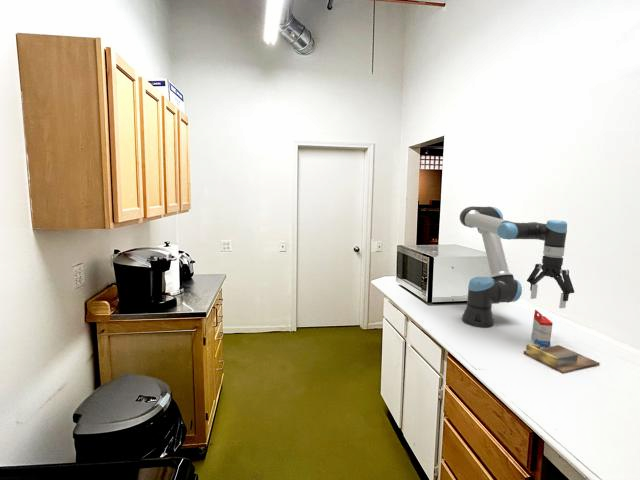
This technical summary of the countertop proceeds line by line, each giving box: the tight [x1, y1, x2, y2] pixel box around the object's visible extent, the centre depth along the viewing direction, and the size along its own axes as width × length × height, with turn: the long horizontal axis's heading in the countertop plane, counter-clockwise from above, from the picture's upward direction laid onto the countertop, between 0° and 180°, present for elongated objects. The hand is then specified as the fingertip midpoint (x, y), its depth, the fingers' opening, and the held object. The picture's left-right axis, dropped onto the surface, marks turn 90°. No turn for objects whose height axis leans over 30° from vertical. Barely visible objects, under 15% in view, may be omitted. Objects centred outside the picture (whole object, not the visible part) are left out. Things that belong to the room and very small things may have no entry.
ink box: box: [531, 309, 553, 348], centre depth 160 cm, size 8×5×15 cm, turn 168°
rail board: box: [523, 343, 601, 374], centre depth 146 cm, size 17×21×4 cm
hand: (547, 303), depth 157 cm, fingers open, 13 cm apart
